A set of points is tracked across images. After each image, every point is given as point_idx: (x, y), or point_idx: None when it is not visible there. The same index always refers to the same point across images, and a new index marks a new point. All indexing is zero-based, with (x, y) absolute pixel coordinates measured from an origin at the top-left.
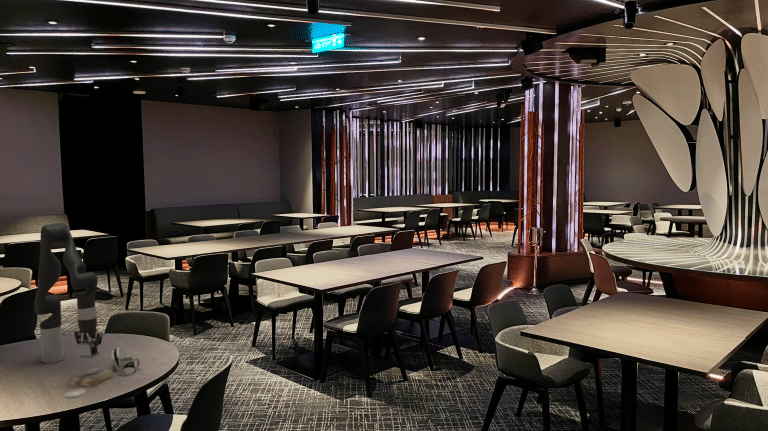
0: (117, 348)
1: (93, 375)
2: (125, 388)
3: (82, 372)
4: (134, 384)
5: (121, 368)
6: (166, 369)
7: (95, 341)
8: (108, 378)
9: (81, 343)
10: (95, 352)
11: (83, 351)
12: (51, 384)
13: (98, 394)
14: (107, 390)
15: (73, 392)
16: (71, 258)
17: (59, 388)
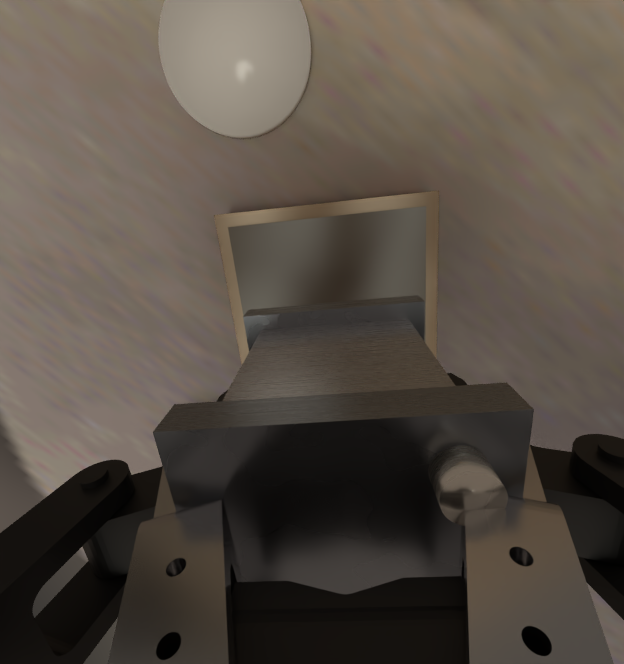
0: None
1: (291, 293)
2: (12, 263)
3: (435, 321)
4: (25, 330)
5: None
6: None
7: (55, 547)
8: None
9: (424, 405)
10: (218, 400)
11: (375, 343)
12: (586, 150)
13: (72, 116)
14: (83, 198)
15: (240, 38)
16: None
17: (457, 105)
